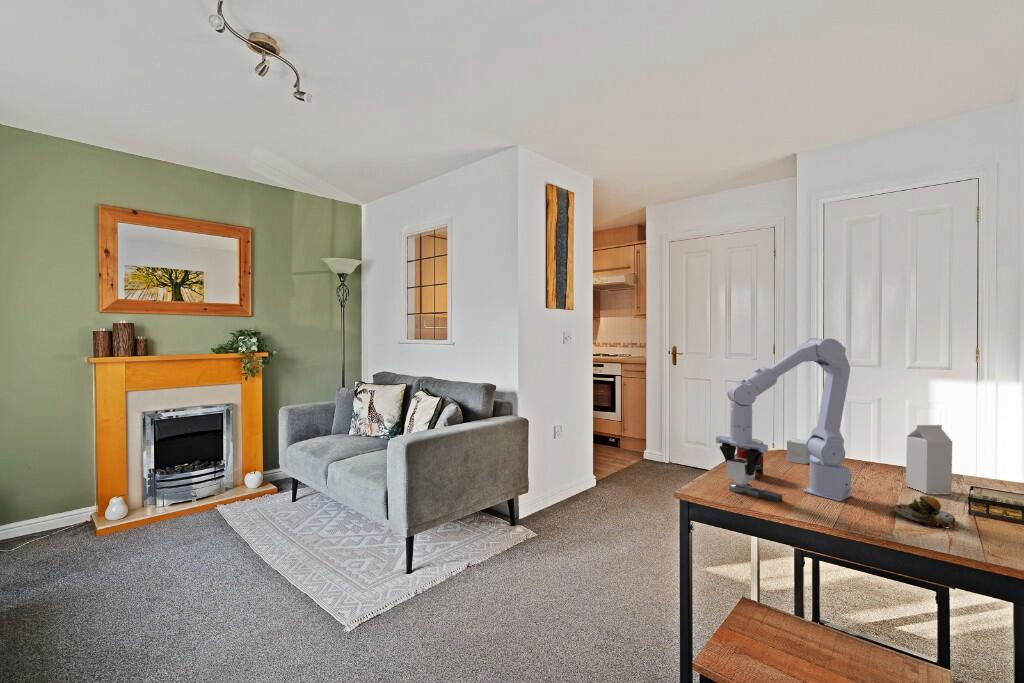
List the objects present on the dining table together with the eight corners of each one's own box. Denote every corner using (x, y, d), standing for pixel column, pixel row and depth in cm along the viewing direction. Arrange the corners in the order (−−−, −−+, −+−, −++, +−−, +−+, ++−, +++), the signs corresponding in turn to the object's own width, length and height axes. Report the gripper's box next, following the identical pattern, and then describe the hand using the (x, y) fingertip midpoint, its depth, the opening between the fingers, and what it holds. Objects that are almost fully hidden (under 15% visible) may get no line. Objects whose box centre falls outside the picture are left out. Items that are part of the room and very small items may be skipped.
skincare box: (811, 461, 168) (811, 441, 168) (805, 464, 164) (805, 443, 164) (792, 458, 173) (793, 438, 172) (786, 461, 169) (786, 440, 169)
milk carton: (951, 494, 134) (952, 427, 134) (926, 495, 134) (927, 427, 134) (929, 486, 141) (930, 422, 141) (905, 486, 141) (906, 422, 141)
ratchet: (724, 489, 139) (725, 474, 139) (736, 485, 142) (736, 470, 142) (773, 504, 127) (774, 486, 127) (785, 499, 131) (785, 482, 131)
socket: (754, 478, 138) (755, 461, 137) (744, 482, 134) (744, 464, 134) (737, 474, 142) (737, 457, 142) (726, 477, 139) (726, 460, 139)
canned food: (738, 477, 151) (739, 442, 150) (734, 470, 158) (735, 437, 158) (765, 479, 148) (766, 444, 148) (760, 472, 156) (760, 438, 156)
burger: (892, 507, 126) (893, 479, 126) (953, 518, 118) (954, 488, 118) (892, 521, 116) (892, 491, 116) (957, 534, 109) (958, 502, 109)
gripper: (710, 423, 141) (709, 468, 142) (758, 431, 130) (758, 481, 130) (723, 420, 145) (723, 464, 146) (772, 428, 134) (771, 476, 134)
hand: (740, 472), depth 138 cm, fingers closed on socket, 5 cm apart
